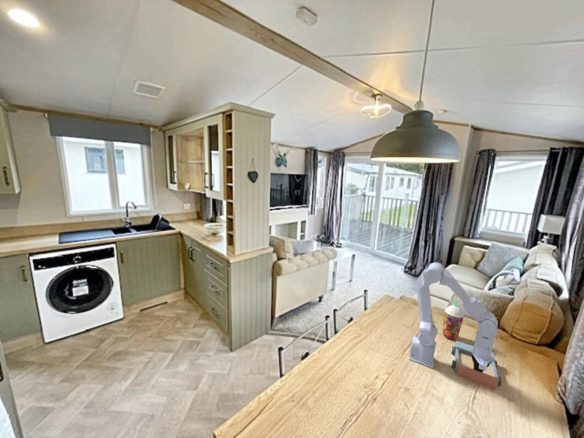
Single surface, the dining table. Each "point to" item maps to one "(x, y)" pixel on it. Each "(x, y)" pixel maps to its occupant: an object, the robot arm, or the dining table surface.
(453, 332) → the smoothie
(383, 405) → the dining table surface
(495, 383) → the tailgate
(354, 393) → the dining table surface
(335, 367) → the dining table surface
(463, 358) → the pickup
